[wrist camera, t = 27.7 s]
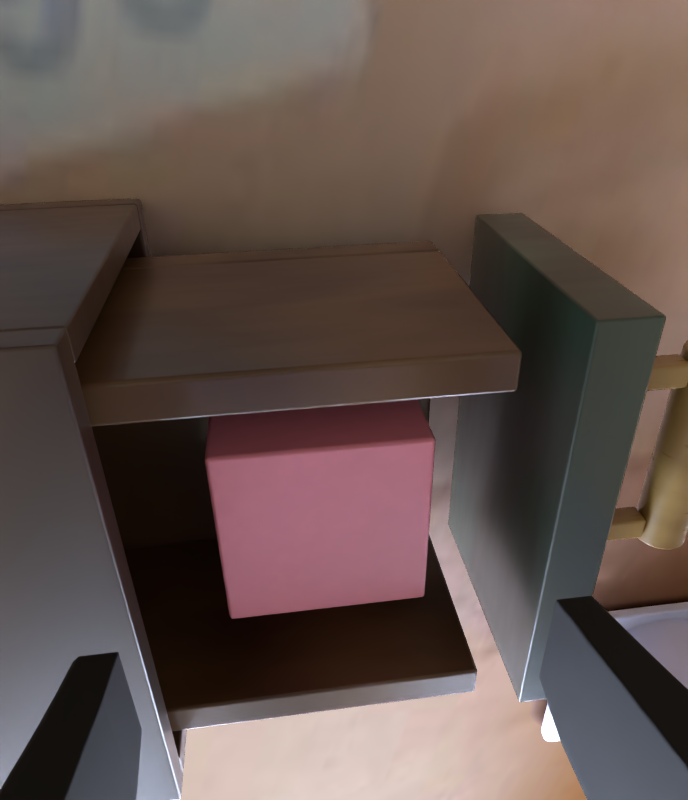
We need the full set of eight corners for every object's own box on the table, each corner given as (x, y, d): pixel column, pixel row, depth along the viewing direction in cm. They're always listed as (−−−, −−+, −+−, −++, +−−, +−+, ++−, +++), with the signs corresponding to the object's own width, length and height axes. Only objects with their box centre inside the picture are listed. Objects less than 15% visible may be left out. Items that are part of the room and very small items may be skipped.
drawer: (676, 203, 16) (893, 299, 11) (600, 507, 21) (721, 675, 16) (-1, 239, 15) (-148, 373, 9) (95, 560, 20) (38, 768, 14)
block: (392, 339, 16) (437, 438, 12) (388, 478, 18) (425, 598, 15) (213, 352, 16) (203, 459, 12) (232, 493, 18) (229, 621, 14)
